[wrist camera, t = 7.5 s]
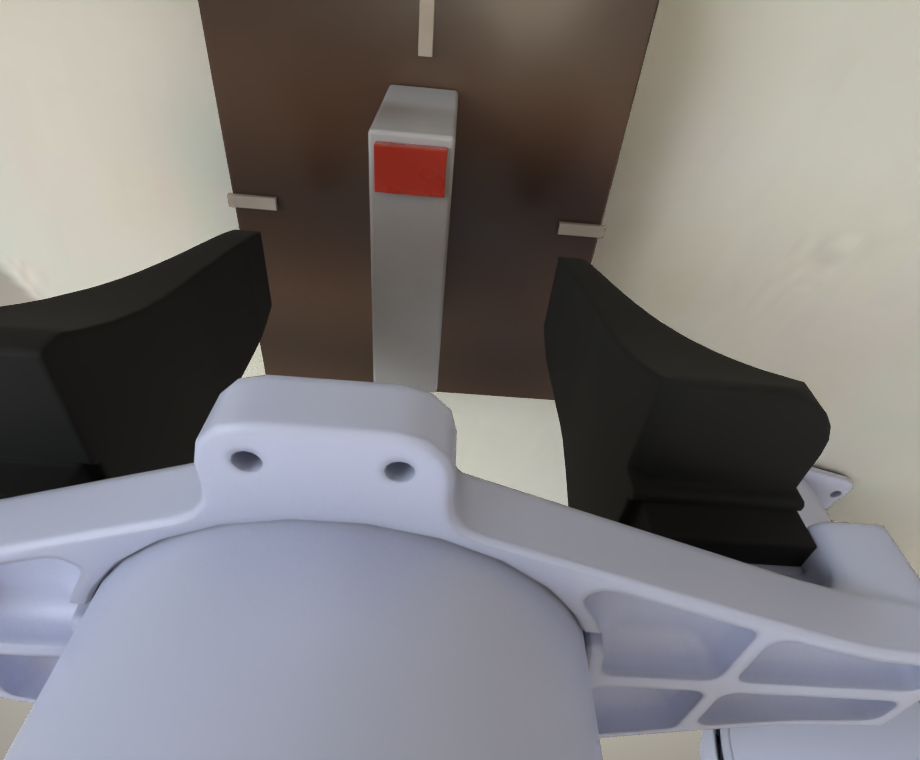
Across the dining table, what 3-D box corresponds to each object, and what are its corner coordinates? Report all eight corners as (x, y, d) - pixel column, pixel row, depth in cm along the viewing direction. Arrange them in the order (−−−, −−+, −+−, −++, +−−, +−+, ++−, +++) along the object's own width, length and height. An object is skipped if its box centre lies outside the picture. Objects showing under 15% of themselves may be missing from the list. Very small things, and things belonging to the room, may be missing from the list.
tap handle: (442, 316, 19) (436, 399, 16) (388, 311, 19) (372, 395, 16) (458, 89, 14) (455, 140, 11) (389, 83, 14) (365, 132, 11)
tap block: (549, 353, 24) (559, 403, 21) (283, 333, 23) (262, 382, 21) (648, -67, 15) (683, -63, 12) (218, -113, 14) (167, -119, 12)
